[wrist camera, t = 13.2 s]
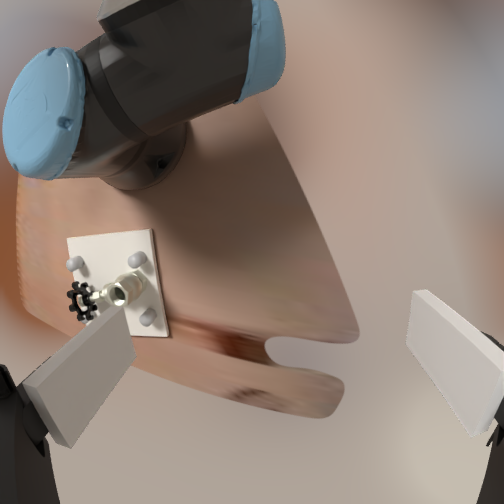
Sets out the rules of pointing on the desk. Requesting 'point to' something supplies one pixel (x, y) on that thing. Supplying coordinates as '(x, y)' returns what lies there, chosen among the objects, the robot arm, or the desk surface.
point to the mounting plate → (115, 264)
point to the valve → (108, 293)
